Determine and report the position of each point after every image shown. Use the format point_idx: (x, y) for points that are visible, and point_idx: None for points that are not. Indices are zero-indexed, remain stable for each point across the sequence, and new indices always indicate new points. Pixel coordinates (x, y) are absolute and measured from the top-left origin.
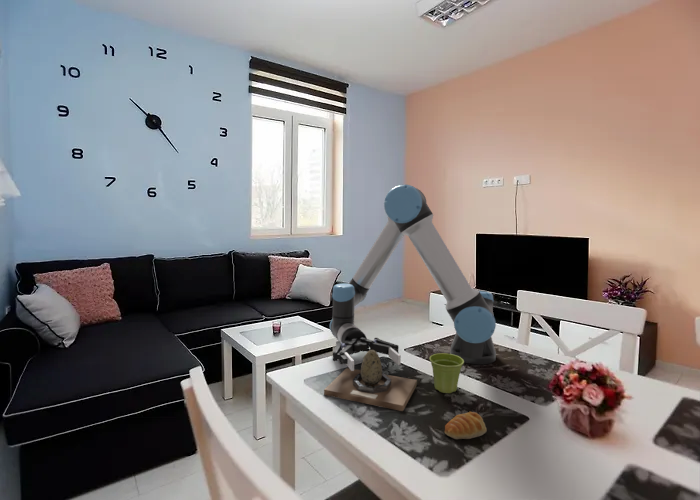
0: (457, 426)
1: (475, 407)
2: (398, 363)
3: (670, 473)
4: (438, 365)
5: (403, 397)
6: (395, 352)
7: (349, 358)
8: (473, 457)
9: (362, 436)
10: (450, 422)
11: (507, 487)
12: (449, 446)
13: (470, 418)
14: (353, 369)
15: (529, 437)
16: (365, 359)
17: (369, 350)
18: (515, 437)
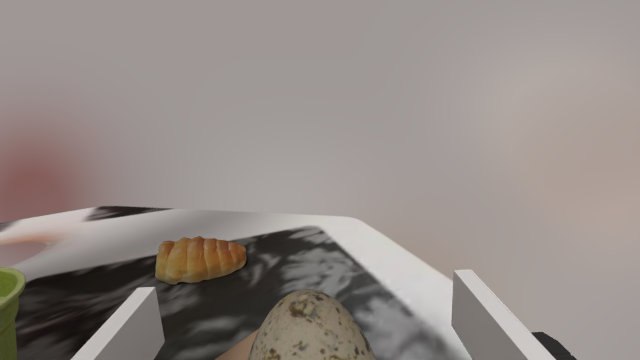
0: (225, 243)
1: (65, 321)
2: (160, 332)
3: (76, 214)
4: (24, 286)
5: (236, 356)
6: (118, 321)
7: (491, 291)
8: (248, 237)
9: (417, 280)
10: (224, 252)
11: (254, 215)
12: (262, 251)
13: (190, 239)
14: (454, 318)
15: (119, 251)
16: (366, 339)
17: (322, 307)
18: (138, 253)
